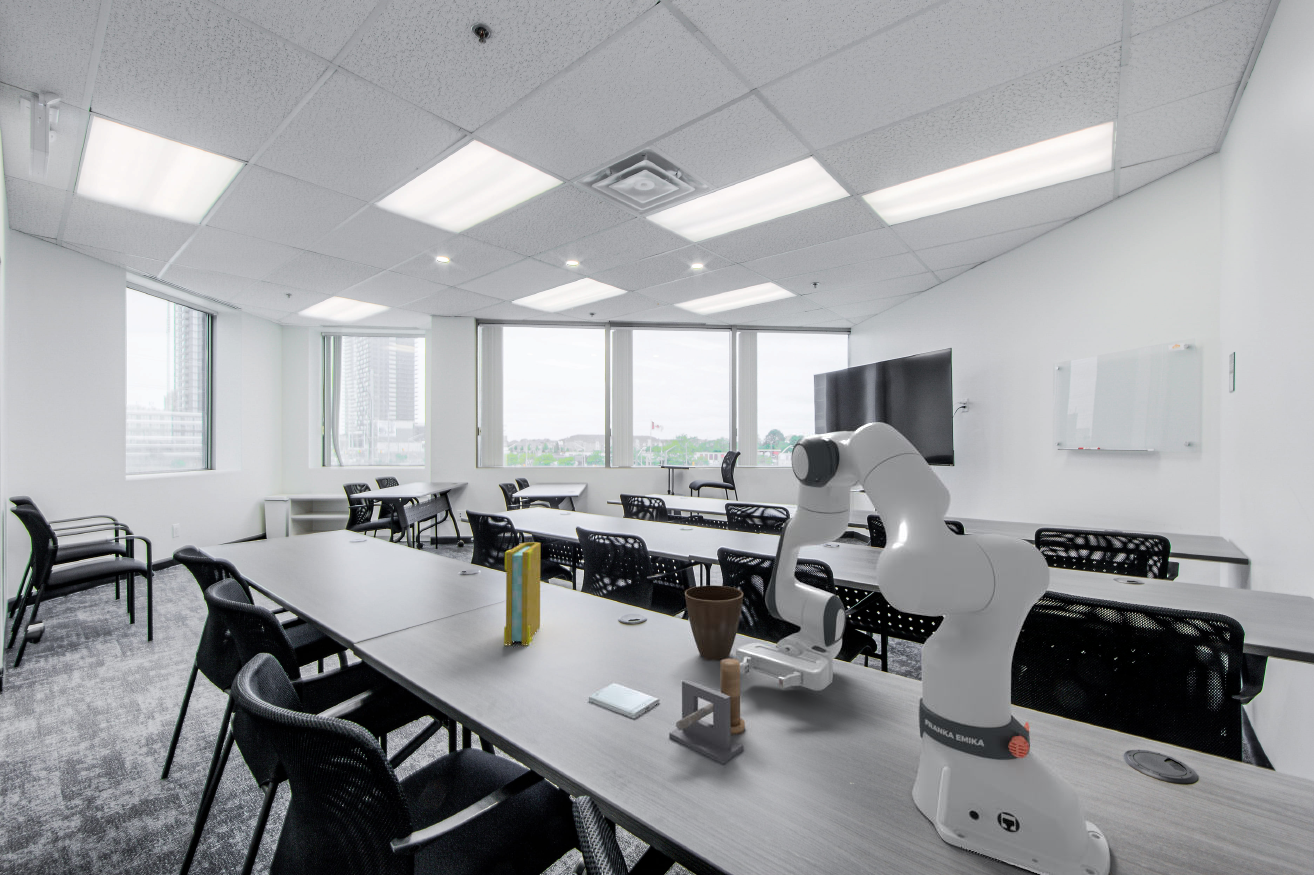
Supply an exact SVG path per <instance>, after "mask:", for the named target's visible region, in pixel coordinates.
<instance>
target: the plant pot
mask: <svg viewBox="0 0 1314 875" xmlns="http://www.w3.org/2000/svg"><path fill="white" fill-rule="evenodd" d="M684 598H685V603H686V610H687V615H688V619H689V625H690V628H691V632H692V636H693V638H694V642H695V645H696V647H697V648H696V649H697V650H698V653H699V655H700V656H699V657H701V658H703V659H705V660H706V659H707V661H711V660H713V662H714V661H715V662H717V661H719V662H721V660H723V659H729V658H730V654H731V651H732V648H733V645H734V643H735V640H736V635H737V632H738V629H739V624H740V620H741V613H742V607H743V600H744V591H742V590H741V589H739V588H736V587H731V586H726V585H725V586H724V585H709V584H708V585H698V586H693V587H691V588H688V589H686V590H685V591H684Z"/></svg>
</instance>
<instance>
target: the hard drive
mask: <svg viewBox="0 0 1314 875" xmlns="http://www.w3.org/2000/svg"><path fill="white" fill-rule="evenodd" d="M588 702H591V703H592V702H593V703H592V704H595V705H597V704H598V705H597V706H600V707H603V708H606V709H608V710H611V711H614V712H616V713H619V714H621V715H623V714H624V716H626V715H627V716H626V717H629V718H631V717H632V719H634V718H635V719H637V718H638V717H640V716H641V715H643V714H644V712H645V711H646V712H648V711H649V710H650V709H652V708H654V707H655V705H656V704H657V705H659V704H660V703H661V702H660V698H658V697H654V696H651V695H648V694H646V693H644V692H640V691H638V690H634V689H632V688H630V687H626V686H623V685H620V684H618V683H614V682H613V683H611V684H608V686H605V687H603V688H602V689H600V690H597V691H596V692H594V693H593V694H592V693H591V694H590V695H589V696H588ZM659 702H660V703H659ZM658 703H659V704H658ZM657 705H656V706H657ZM653 706H654V707H653ZM647 710H648V711H647ZM646 712H645V713H646ZM642 713H643V714H642ZM639 715H640V716H639ZM636 717H637V718H636Z"/></svg>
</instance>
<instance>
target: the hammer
mask: <svg viewBox="0 0 1314 875" xmlns="http://www.w3.org/2000/svg"><path fill="white" fill-rule="evenodd" d="M720 693H723V694H725V695H728V696H730V725H731V736H732V735H733V736H734V735H736V736H737V735H740V734H742V733H744V732H745V727H746V726H745V725H746V723H745V720H744V719H743V718H742V717H741V673H740V662H739V661H738V660H736V658H735V659H734V658H727V659H723V660H720ZM710 714H713V703H711V702H709V703H708V704H707V705H704V706H703V707H701V708H698V710H697V711H696V712H694V713H692V714H690V715H688V716H687V717H685V718H683V719H682V718H681V719H679V720H678V721H676V724H675V726H676V729H678V730H682V729H684V728H686V727H688V726H689V725H691V724H693V723H695V722H696V721H698V720H700V719H701V720H702V719H703V718H704V717H707V716H709V715H710Z"/></svg>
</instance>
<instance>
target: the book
mask: <svg viewBox="0 0 1314 875" xmlns="http://www.w3.org/2000/svg"><path fill="white" fill-rule="evenodd" d="M504 571H505V572H506V573H505V574H506V576H505V577H506V578H505V580H506V582H505V584H506V586H505V587H506V588H505V589H506V590H505V592H506V593H505V594H506V595H505V597H506V598H505V601H506V602H505V606H506V607H505V626H504V628H503V646H512V645H513V644H514V643H513V641H514V642H521V646H527V645H529V643H530V642H531V641H532V642H533V638H534V637H533V635H534V634H535V632H536V631H537V629H538V628H539V627H540V628H541V542H536V541H535V542H528V541H527V542H522V543H519V544H518V545H517V546H515V547H513V548H512V549H508V550H506V551H505V552H504ZM540 628H539V629H540ZM537 632H538V631H537ZM535 635H536V634H535ZM535 635H534V636H535ZM532 637H533V638H532ZM532 642H531V643H532ZM512 643H513V644H512ZM531 643H530V644H531ZM505 644H507V645H505ZM509 644H510V645H509ZM511 644H512V645H511ZM523 644H525V645H523ZM526 644H527V645H526ZM529 646H530V645H529Z"/></svg>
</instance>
